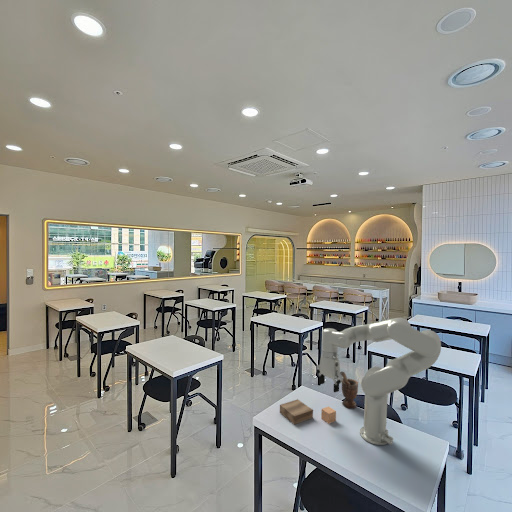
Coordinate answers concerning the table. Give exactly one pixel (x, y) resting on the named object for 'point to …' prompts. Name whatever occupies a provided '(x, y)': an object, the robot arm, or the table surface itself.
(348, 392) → the mortar and pestle
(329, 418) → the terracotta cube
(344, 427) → the table surface
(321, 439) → the table surface
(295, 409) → the walnut base
